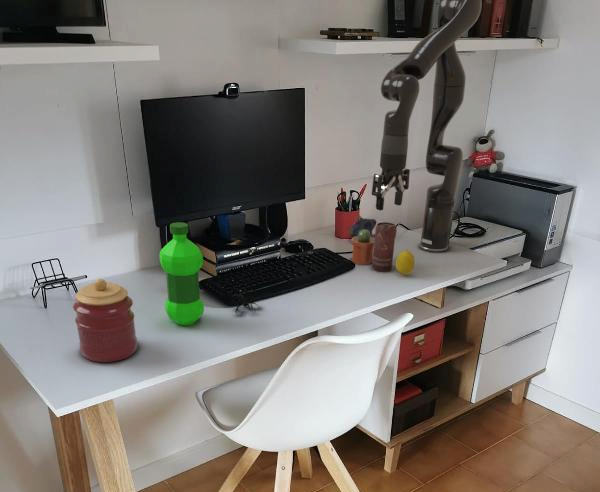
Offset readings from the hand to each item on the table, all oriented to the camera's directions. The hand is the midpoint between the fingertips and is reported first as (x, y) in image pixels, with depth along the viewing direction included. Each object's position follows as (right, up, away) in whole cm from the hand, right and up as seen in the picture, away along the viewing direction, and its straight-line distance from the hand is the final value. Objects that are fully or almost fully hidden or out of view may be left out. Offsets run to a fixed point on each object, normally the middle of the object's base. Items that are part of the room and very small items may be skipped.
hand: (388, 207), depth 196 cm
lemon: (+5, -20, +5) cm, 21 cm away
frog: (-5, -1, +34) cm, 35 cm away
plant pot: (-7, -13, +15) cm, 21 cm away
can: (-1, -17, +9) cm, 19 cm away
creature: (-41, -34, -21) cm, 57 cm away
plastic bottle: (-56, -38, -28) cm, 73 cm away
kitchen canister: (-71, -46, -43) cm, 95 cm away
